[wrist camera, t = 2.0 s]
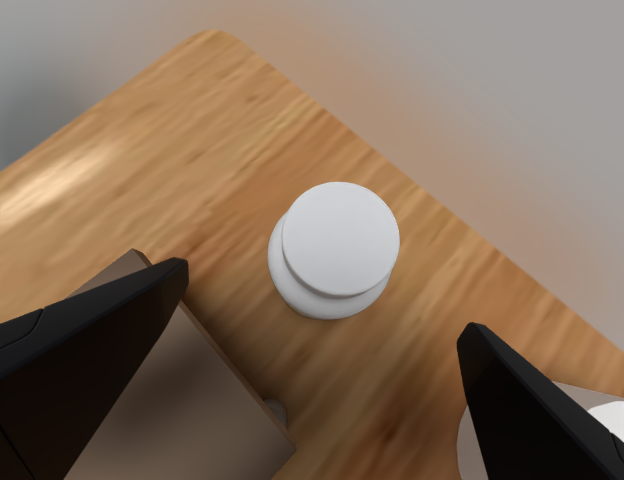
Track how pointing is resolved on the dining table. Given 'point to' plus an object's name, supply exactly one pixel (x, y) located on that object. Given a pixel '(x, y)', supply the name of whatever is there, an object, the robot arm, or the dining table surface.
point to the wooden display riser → (184, 411)
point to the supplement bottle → (333, 251)
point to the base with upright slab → (605, 408)
